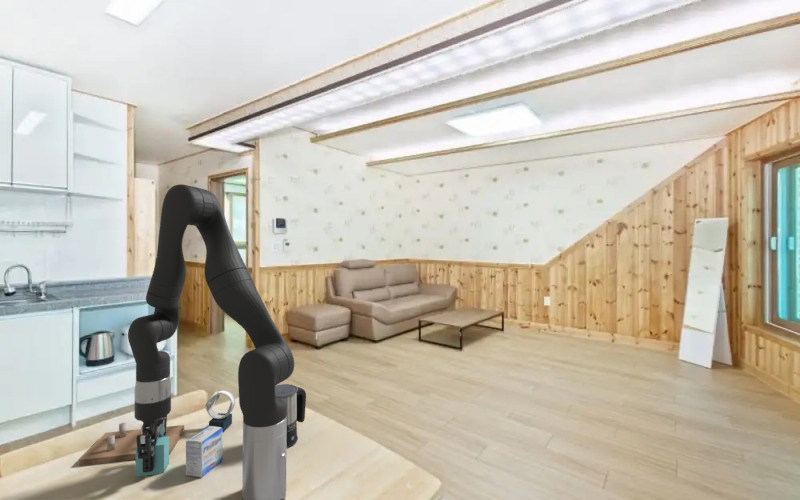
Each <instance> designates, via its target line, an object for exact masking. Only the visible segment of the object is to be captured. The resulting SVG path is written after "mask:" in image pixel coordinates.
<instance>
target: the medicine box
mask: <svg viewBox="0 0 800 500" xmlns="http://www.w3.org/2000/svg"><path fill="white" fill-rule="evenodd" d="M223 434H224V432H223V428H221V427H215V426H209V425H208V426H206V427H205V428H203V429H202V430H200V431H198V432H197V433H196V434H194V435H193V436H191V437H190V438H189V439H187V440H186V441H185V475H186V476H187V477H194V478H195V477H196V478H203V477H204V476H205V475H207V474H208V473H209V472H210V471H211V470H212V469H214V468H215V466H217V465H218V464H219V463H221V462H222V461H223V449H224V447H223V442H224V441H223V440H224V439H223V436H224V435H223Z"/></svg>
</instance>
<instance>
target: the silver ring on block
mask: <svg viewBox="0 0 800 500" xmlns="http://www.w3.org/2000/svg"><path fill="white" fill-rule="evenodd" d="M221 395H223V396H225V397H227V398H228V399H229V402H230V403H229V407H228V409H227V411H226V413H223V412H221V413H216V412H215V410H214V409H213V407H214V405H215V404H216V403H217V401H218V400H219V399H220V396H221ZM235 401H236V399H235V397H234V395H233V394H232V393H231V392H230V391H228V390H225V389H224V390H223V389H222V390H219V391H217V390H216V391H215V392H214V393H212V394H211V396H210V397H209V399H208V400H207V401H206V403H205V407H206V408H205V409H206V411H207V414H208V415H209V416H210V417H211V419H210V420H209V421H208V426H215V427H221V428H223V433H225V431H227V429H228V428H229V427H230V426H232V424H233V413H232V411H233V410H234V408H235V405H236V402H235Z"/></svg>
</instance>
